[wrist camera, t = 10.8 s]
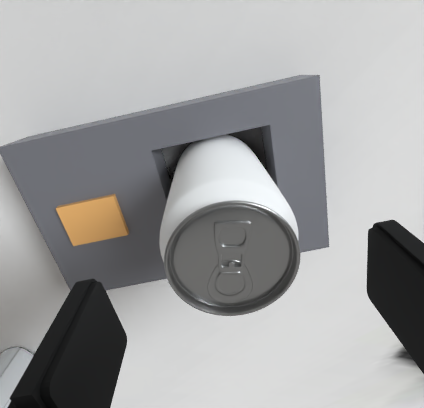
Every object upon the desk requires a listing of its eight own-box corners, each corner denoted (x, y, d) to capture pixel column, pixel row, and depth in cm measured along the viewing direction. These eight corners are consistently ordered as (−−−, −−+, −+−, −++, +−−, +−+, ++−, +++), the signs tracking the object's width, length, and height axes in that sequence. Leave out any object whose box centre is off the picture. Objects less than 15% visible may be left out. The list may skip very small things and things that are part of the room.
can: (177, 212, 24) (158, 325, 13) (174, 132, 22) (146, 191, 11) (255, 211, 24) (300, 322, 13) (261, 132, 22) (322, 189, 11)
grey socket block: (27, 136, 21) (-7, 149, 18) (300, 75, 20) (322, 75, 17) (89, 269, 26) (71, 300, 23) (312, 225, 25) (331, 249, 22)
